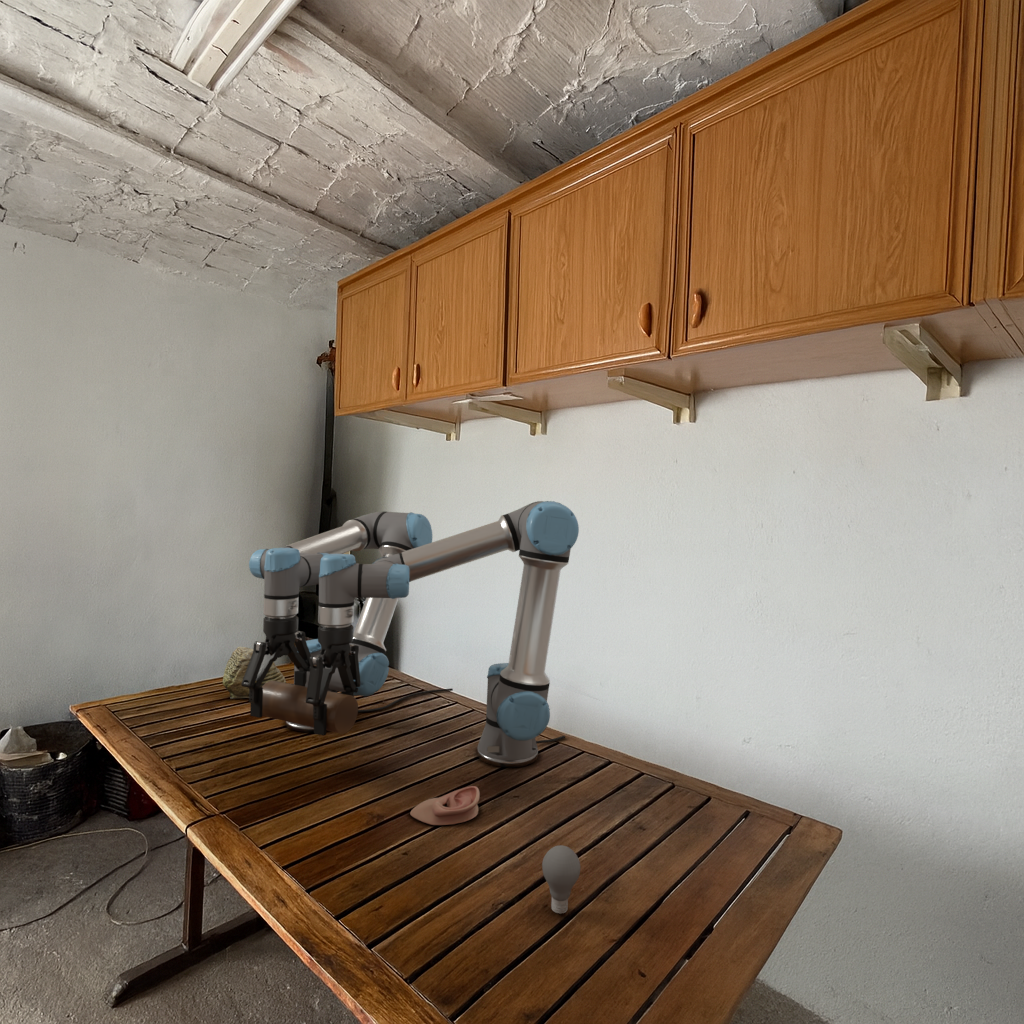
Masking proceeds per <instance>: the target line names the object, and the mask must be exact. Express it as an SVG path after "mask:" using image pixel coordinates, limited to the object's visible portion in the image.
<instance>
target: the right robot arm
mask: <svg viewBox="0 0 1024 1024" xmlns="http://www.w3.org/2000/svg"><path fill="white" fill-rule="evenodd" d="M579 526H580V525H579V522H578V519H577V516H576V515H575V513H574V512H573V510H571V508H569V507H568V506H566V505H564V504H563V503H562V502H561V503H560V502H557V501H554V500H553V501H552V500H550V501H549V500H544V501H543V500H537V501H533V502H531V503H528V504H526V505H524V506H522V507H520V508H518V509H516V510H515V509H514V510H513V511H511V512H508V513H506V514H502V515H500V517H499V518H498V520H497V521H493V522H489V523H488V524H484V525H481V526H478V527H475V528H472V529H469V530H466V531H463V532H460V533H457V534H454V535H451V536H447V537H445V538H441V539H439V540H436V541H435V540H434V541H432V543H429V544H426V545H423V546H420V547H417V548H413V549H410V550H407V551H404V552H402V553H399V554H395V555H392V556H389V557H382V556H381V557H382V558H381V557H380V558H377V559H376V560H374V561H373V562H372V563H360V562H359V563H358V562H357V561H356V556H355V555H353V554H352V553H351V554H350V553H344V554H327V555H324V556H323V557H322V558H321V561H320V574H319V584H318V612H317V614H318V615H317V623H318V624H319V626H318V627H317V639H318V642H319V643H320V644H321V651H320V654H319V655H317V656H311V657H310V674H309V681H308V688H307V695H306V703H308V704H313V719H314V732H313V734H315V735H319V736H323V737H324V736H326V735H327V730H326V723H327V704H324V702H325V698H326V695H327V691H328V688H329V684H330V681H331V677H332V674H333V673H335V670H336V668H338V671H339V675H340V678H341V681H342V685H343V688H344V690H345V692H344V691H343V692H340V693H341V694H346V695H351V696H353V697H355V696H354V692H355V693H357V692H358V688H357V687H360V685H361V682H360V671H359V660H358V652H359V646H358V645H351V644H350V643H351V642H352V641H353V633H354V630H355V628H354V625H353V623H354V617H355V616H354V613H355V599H363V598H364V599H366V598H391V599H395V598H399V599H405V598H407V597H409V594H410V583H411V582H414V581H417V580H420V579H423V578H426V577H429V576H433V575H435V574H438V573H441V572H444V571H448V570H450V569H454V568H456V567H460V566H463V565H465V564H469V563H471V562H475V561H478V560H481V559H483V558H486V557H490V556H493V555H496V554H499V553H502V552H505V551H510V552H512V553H516V552H518V551H519V552H518V558H519V559H520V560H521V562H522V563H523V568H522V573H521V575H522V576H521V579H520V580H521V582H520V588H519V593H518V594H519V595H518V599H517V607H516V613H515V620H514V625H513V632H512V637H511V638H512V639H511V643H510V651H509V656H508V657H509V658H508V662H499V663H494V664H491V665H490V666H489V667H488V671H487V676H486V678H487V689H486V711H485V712H486V713H485V716H486V717H485V725H484V728H483V731H482V733H481V736H480V738H479V741H478V744H477V750H476V751H477V752H476V753H477V757H478V759H479V760H481V761H482V762H484V763H486V764H489V765H490V766H491V765H492V766H494V767H500V768H501V767H502V768H519V767H524V766H525V767H526V766H528V765H531V764H533V763H534V762H536V761H537V759H538V757H539V755H538V754H539V749H538V744H546V743H547V744H548V743H553V742H557V741H561V740H564V739H566V736H565V735H561V736H558V737H555V738H551V739H540V740H536V737H538V736H540V735H541V734H542V733H543V732H544V731H545V730H546V728H547V727H548V725H549V723H550V719H551V711H550V710H551V708H550V705H549V703H548V697H549V690H550V684H551V679H550V677H549V676H548V674H547V673H546V668H547V667H546V666H547V660H548V653H549V646H550V641H551V635H552V627H553V621H554V615H555V608H556V603H557V596H558V589H559V581H560V577H561V570H563V568H565V567H566V566H567V565H569V562H570V557H571V556H570V555H571V550H572V548H573V547H574V546H575V544H576V542H577V541H578V537H579V533H580V527H579ZM325 666H326V667H327V668H330V669H327V668H325ZM354 680H355V681H354ZM319 697H320V699H319Z"/></svg>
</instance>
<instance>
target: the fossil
mask: <svg viewBox="0 0 1024 1024" xmlns="http://www.w3.org/2000/svg"><path fill="white" fill-rule="evenodd" d="M252 653H253V648H251V647H247V646H246V647H245V646H238V647H237V648H236V649H235V650H233V651H232V653H231V656H230V657H229V659H228V660H227V663H226V666H225V668H224V671H223V675H222V676H223V677H222V685H223V687H224V688H225V690H226V691H228V693H229V698H230V699H249V688H248V687H243V686H242V685H241V683H242V680H243V678H244V675H245V672H246V670H247V667H248V664H249V661H250V659H251V656H252ZM269 681H279V682H284V683H287V680H286V678H285V676H284V674H283V673H282V672H281V669H279V668H278V667H277V665H276V663H275V661H274V662H273V664H272V665H271V667H270V669H269V671H268V673H267V675H266V676H265V678H264V680H263V682H262V684H261V686H260V687H262V686H263V685H264V684H265V683H267V682H269ZM255 683H256V681H255Z"/></svg>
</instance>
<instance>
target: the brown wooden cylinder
mask: <svg viewBox="0 0 1024 1024" xmlns="http://www.w3.org/2000/svg"><path fill="white" fill-rule="evenodd" d="M262 687H263V707H262V717H265V718H269V719H274V720H279V721H282V722H283V721H284V722H286V721H287V722H291V723H296V724H300V725H305V726H309V727H314V719H313V704H308V703H306V695H307V688H308V687H305V686H299V685H294V683H289V682H286V683H284V682H279V681H269V682H267V683H265V684H264V685H263V686H262ZM319 699H320V697H319ZM324 704H327V723H326V732H327V731H328V732H332V733H335V734H340V735H344V734H346V733H348V732H350V731H351V729H352V728H353V727H354V725H355V723H356V721H357V718H358V714H359V713H358V710H359V704H358V700H357V699H356V696H354V697H353V696H351V695H346V694H341V692H337V693H336V692H330V691H327V695H326V698H325V702H324Z"/></svg>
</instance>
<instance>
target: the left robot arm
mask: <svg viewBox="0 0 1024 1024" xmlns="http://www.w3.org/2000/svg"><path fill="white" fill-rule="evenodd" d="M432 542H433V530H432V525H431V522H430V520H429V519H428V517H426V515H424V514H421V513H415V512H411V511H410V512H396V511H382V510H381V511H375V512H370V513H367V514H363V515H360V516H358V517H354V518H352V519H348V520H346V521H344V523H343V524H342V526H338V527H336V528H332V529H330V530H327V531H324V532H321V533H319V534H315V535H313V536H310V537H307V538H304V539H301V540H298V541H295V542H293V543H290V544H287V545H283V546H279V547H273V548H260V549H257V550H255V551H254V552H253V553H252V554H251V556H250V558H249V562H248V568H249V571H250V574H252V576H253V577H255V578H257V579H261V580H263V581H264V586H263V587H264V590H263V593H264V594H263V615H264V618H263V625H262V631H263V633H264V635H265V640H264V641H257V640H256V641H254V642H253V647H252V649H253V653H252V656H251V659H250V661H249V664H248V667H247V670H246V672H245V675H244V678H243V680H242V683H241V685H242V686H243V687H248V688H249V698H248V701H249V704H250V717H255V718H259V719H260V718H262V717H263V716H262V707H263V687H260V686H261V684H262V682H263V680H264V678H265V676H266V675H267V673H268V671H269V669H270V667H271V665H272V664H273V662H274V663H275V662H276V661H277V660H278V659H279V658H282V657H284V656H287V657H288V659H289V660H290V661H291V663H293V665H294V666H293V684H294V685H299V686H305V687H308V681H309V674H310V657H311V656H317V655H319V654H320V651H321V644H320V643H319V642H318V638H313V639H308V640H307V639H306V632H305V631H301V630H299V616H298V615H297V614H299V598H300V588H302V587H303V588H304V587H310V586H316V585H319V574H320V561H321V558H322V557H323V556H324V555H327V554H347V553H349V552H351V551H352V552H361V551H363V550H378V551H379V553H380V555H381V557H380V558H382V557H389V556H392V555H395V554H399V553H402V552H404V551H407V550H410V549H413V548H417V547H420V546H423V545H426V544H429V543H432ZM399 599H400V598H395V599H391V598H365V600H364V604H363V606H362V608H361V611H360V614H359V617H358V620H357V623H356V625H355V628H354V631H353V641H352V642H351V643H350V644H351V645H358V646H359V652H358V660H359V671H360V682H361V685H360V687H357V688H358V692H357V693H355V692H354V697H357V696H361V697H370V696H372V695H374V694H376V693H377V692H379V691H380V690H381V688H382V687H383V685H384V684H385V682H386V680H387V678H388V675H389V672H390V667H389V665H390V661H389V658H388V656H387V655H386V654H387V648H386V647H385V644H384V642H385V639H386V636H387V633H388V631H389V628H390V625H391V621H392V619H393V616H394V613H395V610H396V607H397V605H398V602H399ZM325 668H327V667H326V666H325ZM327 669H330V668H327ZM255 681H256V683H255ZM354 681H355V680H354ZM453 689H454V688H439V689H438V688H437V689H431V690H423V691H419V692H415V693H411V694H408V695H405V696H403V697H401V698H398V699H396V700H394V701H392V702H390V703H389V704H387V705H384V706H381V707H375V708H369V709H367V708H366V709H358V714H359V713H371V712H377V711H383V710H385V709H388V708H390V707H392V706H394V705H395V704H397V703H400V702H402V701H404V700H407V699H409V698H412V697H415V696H419V695H425V694H431V693H439V692H440V693H441V692H453V691H454V690H453ZM328 691H330V692H336V693H338V692H339V693H341V692H343V691H344V692H345V690H344V688H343V685H342V681H341V678H340V675H339V671H338V668H336V670H335V673H333V674H332V677H331V681H330V684H329V688H328ZM285 726H286V728H287V729H289V730H291V731H294V732H295V731H296V732H301V733H314V727H309V726H305V725H300V724H296V723H291V722H287V721H285Z"/></svg>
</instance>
